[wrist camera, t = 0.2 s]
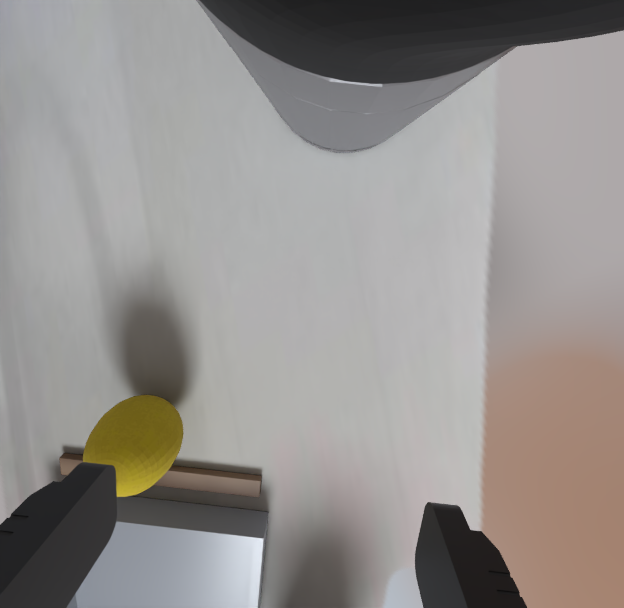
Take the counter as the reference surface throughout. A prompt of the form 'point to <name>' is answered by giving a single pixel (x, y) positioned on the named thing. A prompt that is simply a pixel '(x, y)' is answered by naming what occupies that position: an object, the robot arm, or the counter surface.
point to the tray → (178, 558)
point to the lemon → (136, 442)
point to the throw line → (191, 478)
